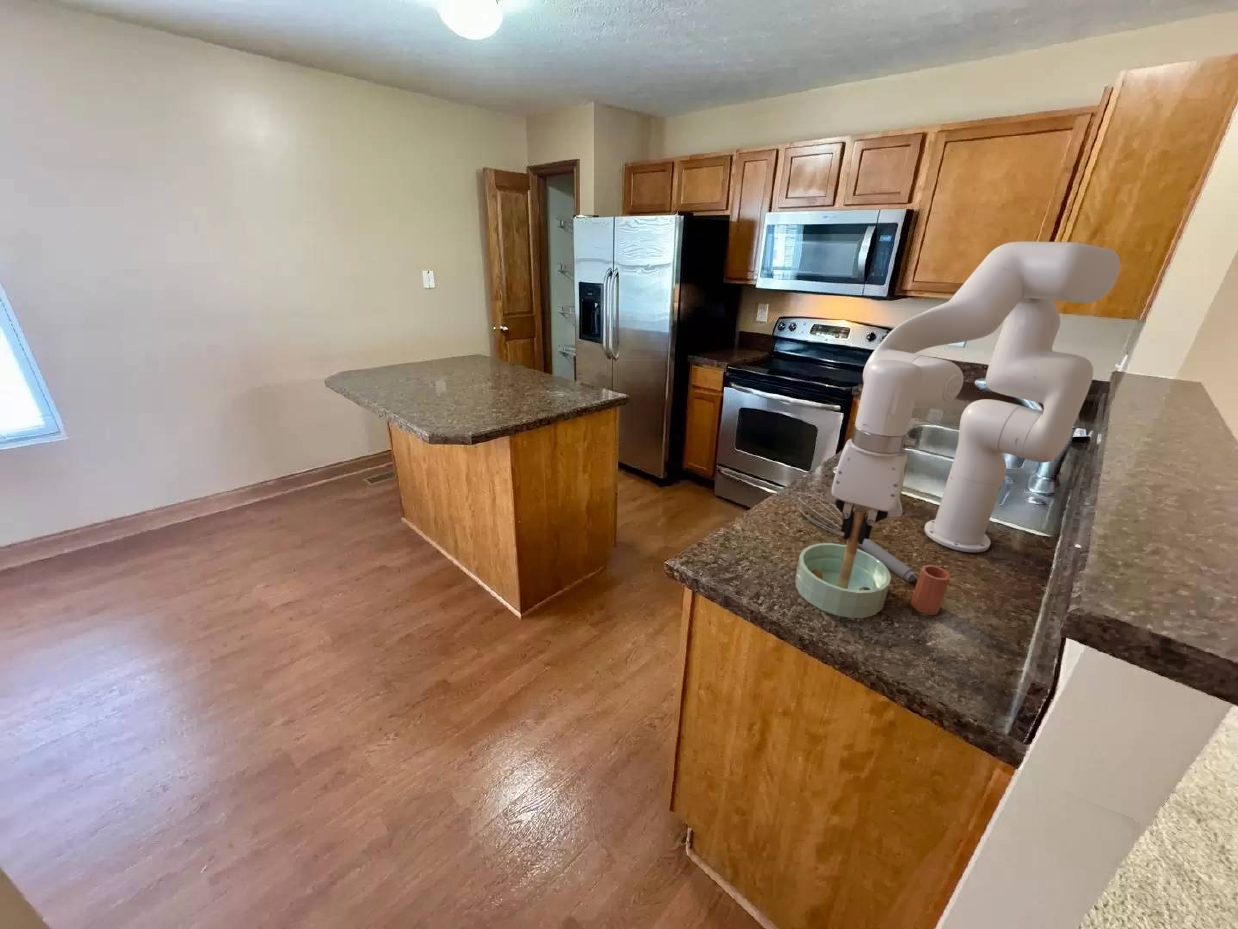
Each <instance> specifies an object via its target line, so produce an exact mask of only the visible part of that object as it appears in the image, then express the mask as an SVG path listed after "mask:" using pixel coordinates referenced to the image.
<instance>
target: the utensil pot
mask: <svg viewBox="0 0 1238 929" xmlns="http://www.w3.org/2000/svg"><path fill="white" fill-rule="evenodd" d="M917 578H918V579H917V581H916V584H915V587H914V589H913V592H912V593H913V594H912V596H911V600H910V605H911V606H912V608H913V609H915V610H916V611H917V612H920V613H922V614H925V615H930V616H934V615H935V616H936V615H937V614H939V612H940V611H941V610H940V609H941V607H942V605H943V601H944V598H945V595H946V593H947V591H948V587H949V583H950V581H951V578H952V576H951V573H950V572H948V571H947V569H944V568H942V567H941V566H938V565H934V564H924V565H922V567H921V568H920V571H919V575H918V576H917Z"/></svg>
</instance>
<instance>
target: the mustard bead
mask: <svg viewBox="0 0 1238 929" xmlns="http://www.w3.org/2000/svg"><path fill="white" fill-rule="evenodd" d="M811 572H812V573H813V574H814V575H815V576H816V577H818V578H820V579H823V573H822V572H821V571H820V570H818V569H814V570H812V571H811Z"/></svg>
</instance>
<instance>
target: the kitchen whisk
mask: <svg viewBox="0 0 1238 929" xmlns="http://www.w3.org/2000/svg"><path fill="white" fill-rule="evenodd" d="M809 493H810V491H808V492H804V493H802V494H801V495H802V496H798V500H797V503H796V507H797V508H798V510H799V511H800V512H801V513H802V514H803V516H805V519H808V521H811V522H812V523H813V524H815V525H816V526H818V527H820V528H822V529H824V530H827V531H829V532H831V533H833V534H836V535H839V536H843V537H844V532H841V530H839V529H841V526H840V525H837V524H836V523H834V522H833V521H832V520H830V519H828V518H827V517H825V516H824V515H822V514H821V513H819V512H817V511H816V510H814V508H812V507H811V506H809V505H808V504H806V503H805V500H806V501H808V502H811V503H812V504H814V505H816V506H817V507H819V508H820V509H822V510H823V511H825V512H826V513H827V514H828V515H830V516H831V517H832V518H834V519H835V520H836V521H838V522H839V523H840V524H841V525H842V524H843V522H842V521H841V519H840V517H838V515H836V514H835V513H834V512H833V511H832V510H831V509H830V508H829V507H827V505H825V504H824V503H822V502H821V500H819V499H822V500H824V501H825V502H827V503H828V504H829V505H831V506H832V507H833V508H834V509H835V510H836V511H837V512H838V513H839V514H840V515H841V516H842V513H841V512H840V510H839V509H838V507H837V506H836V505H835V504H834V503H832V502H830V501H829V500H827V499H826V498H825V495H822V494H821V493H820V492H817V491H814V493H815V494H817V495H815V494H809ZM818 495H819V496H818ZM806 497H812V498H814V499H815V500H816V501H818V502H819V503H820V504H822V506H824V508H826V509H827V510H828V511H829V512H828V511H827V510H826V509H824V508H823V507H821V506H820V505H818V504H817V503H815V502H813V501H812V500H810V499H808V498H806ZM817 498H819V499H817ZM799 501H800V502H799ZM801 504H803V505H804V506H805V508H806V509H807V511H808V512H810V514H812V515H813V516H814V517H815V518H816V519H819V520H820V521H821V522H823V523H824V524H825V525H824V524H822V523H821V522H818V521H816V520H814V519H813V518H811V517H809V516H808V515H807V514H806V513H805V512H804V511H803V510H802V506H801ZM810 509H811V510H810ZM812 511H813V512H815V513H816V514H818V515H819V516H821V517H822V518H824V519H825V520H827V521H828V522H830V523H831V524H833V525H835V526H836V527H838V528H839V529H837V528H835V529H836V530H835V529H833V526H832V525H830V524H828V523H826V522H825V521H823V520H822V519H821V518H819V517H818V516H816V515H815V514H814V513H813V512H812ZM830 512H831V513H832V514H831V513H830ZM833 515H834V516H833ZM826 525H827V526H826ZM828 526H829V527H828ZM825 527H826V528H825ZM830 527H831V528H830ZM858 548H859V549H860V550H862V551H864V552H866V553H868V554H870V555H872V556H874V557H875V558H876V559H878V560H879V561H881V562H882V563H883V564H884V565H885V566H886V568H887V569H888V570H889V572H890V571H891V572H892V573H893V574H894V575H896V577H899V579H901V580H903V581H905V582H907V583H910V582H913V581H915V580H916V579H917V580H918V574H917V573H916V572H915V571H914V569H913V568H912V567H910V566H908V565H907V564H905V563H904V562H903V561H901V560H900V559H898V558H897V557H896V556H894V555H893V554H892V553H890V552H889V551H887V550H886V549H884V548H883V547H881V546H880V545H879V544H878V543H877V542H874V541H873V540H871V539H870V538H869V540H868V539H864V541H863V544H862V545H861V544H858Z"/></svg>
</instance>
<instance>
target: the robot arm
mask: <svg viewBox="0 0 1238 929" xmlns="http://www.w3.org/2000/svg"><path fill="white" fill-rule="evenodd" d="M1120 271H1121V258H1120V257H1119V255H1118V253H1117V252H1116V251H1115V250H1113V249H1111V248H1107V247H1103V246H1096V245H1093V244H1088V243H1081V242H1073V241H1011V242H1006V243H1003V244H1001V245H999V246H997V247H995V248H994V249H993V250H991V251H990V252H989V253H988V254H987V255H986V256H985V258H984V259H983V260H982V261H981V263H979V265H978V266H977V267H976V268H975V269H974V271H973V272H972V273H971V274H970V275H969V277H968V278H967V279H966V280H965V282H964V283H963V284H962V285H961V286H960V287H959V289H958V290H957V291H956V292H955V293H954V294H953V296H952V297H951V298H950V299H949V300H948V301H947V302H944V303H941V304H939V305H937V306H934V307H932V308H929V309H927V310H924V311H923V312H921V313H919V314H917V315H914V316H913V317H911V318H908V319H906V320H904V321H902V322H901V323H899V324H898V325H897V326H895V327H894V328H893V329H892V330H891V331H889V332H888V334H887V335H886V336H885V337H884V338H883V339H882V340H881V342H880V343H879V344H878V345H877V347H876V348H875V349H874V350H873V351H872V352H871V354H870V356H869V357H868V359H867V360H866V363H865V365H864V368H863V372H862V382H863V386H862V391H861V394H860V400H859V403H858V407H857V412H856V416H855V422H854V423H855V424H854V428H853V431H852V436H851V438H849V439H847V441H846V443H845V445H844V447H843V448H842V452H841V454H840V457H839V460H838V465H837V467H836V470H835V474H834V478H833V481H832V484H831V485H830V487H829V488H828V489H827V491H826V492H825V494H824V497H825V498H824V499H825V500H826V501H828V500H829V501H830V502H831V503H832V504H833V505H835V507H836V508H837V509H838V510H839V511H840V512H841V513H842V515H841V516H842V517H843V519H842V524H841V527H840V531H841V532H840V533H842V532H843V534H844V536H843V537H842V540H845V541H848V538H849V534H850V530H851V525H852V521H853V516H854V512H855V511H854V506H855V505H857V506H861V507H866V508H868V509H869V510H868V515H867V514H866V516H865V520H864V522H863V524H862V528H861V532H860V536H859V540H858V543H859V544H861V545H862V544H863V541H864V539H868V540H869V539H870V537H871V533H872V529H873V526H874V525H875V524H876V523H878V522H881V521H883V520H885V519H894V518H901V517H902V516H903V512H904V511H903V507H902V501H901V495H902V492H903V488H904V482H905V478H906V473H907V467H908V451H907V450H906V448H912V449H914V448H915V446H916V442H917V439H916V438H912V437H909V436H910V435H908V432H909V428H910V425H911V420H912V416H913V412H914V409H916V408H921V409H922V408H923V409H934V408H940V407H943V406H945V405H947V404H949V403H950V402H952V401H953V400H954V399H956V398H957V396H958V395H959V394H960V392H961V390H962V388H963V386H964V374H963V371H962V369H961V368H960V367H959V366H958V365H957V364H956V363H954V362H952V361H950V360H947V359H943V358H937V357H933V356H927V355H923V354H920V353H919V354H918V352H921V351H923V350H926V349H930V348H934V347H939V346H944V345H951V344H958V343H964V342H969V341H974V340H979V339H983V338H986V337H988V336H990V335H992V334H993V333H994V332H995V331H996V330H998V328H999V327H1000V326H1001V325H1002V326H1001V331H1000V333H999V336H998V338H997V341H996V345H995V347H994V350H993V353H992V356H991V359H990V361H989V364H988V367H987V371H986V374H985V379H984V380H985V386H986V388H988V389H989V390H990V391H992V392H994V393H997V394H1000V395H1004V396H1007V397H1012V398H1017V399H1021V400H1026V401H1029V402H1034V403H1039V404H1041V405H1042V406H1043V410H1041V409H1037V408H1032V407H1027V406H1024V405H1020V404H1016V403H1012V402H1007V401H1003V400H998V399H990V398H989V399H988V398H986V399H985V398H984V399H978V400H974V401H972V402H970V403H969V404H967V406H966V407H965V408H964V410H963V412H962V414H961V417H960V421H959V426H958V428H959V429H958V439H957V446H956V450H955V454H954V457H953V461H952V464H951V468H950V471H949V475H948V477H947V480H946V483H945V487H944V489H943V493H942V496H941V499H940V502H939V505H938V506H939V507H938V509H937V513H936V515H935V519H932V520H929V521H927V522H926V523H925V525H924V527H923V530H924V533H925V534H926V536H927V537H929V539H930V540H932V541H933V542H935V543H937V544H939V545H941V546H943V547H945V548H948V549H951V550H954V551H958V552H963V553H974V554H975V553H983V552H985V551H987V550H988V549H989V548H990V546H991V539H990V538H989V536H988V535H987V534H986V532H987V528H988V525H989V523H990V520H991V518H992V515H993V512H994V510H995V506H996V503H997V501H998V498H999V495H1000V492H1001V490H1002V487H1003V484H1004V481H1005V479H1006V476H1007V464H1006V459H1005V456H1004V454H1007V455H1010V456H1014V457H1017V458H1020V459H1025V460H1028V461H1031V462H1035V463H1049V462H1052V461H1054V460H1055V459H1056V458H1057V457H1058V456H1059V455H1060V454H1061V453H1062V451H1063V450H1064V447H1065V446H1066V444H1067V442H1068V439H1069V438H1070V435H1071V433H1072V430H1073V428H1074V425H1075V423H1076V421H1077V419H1078V416H1079V415H1080V411H1081V410H1082V407H1083V405H1084V402H1085V400H1086V398H1087V396H1088V393H1089V390H1090V388H1091V385H1092V383H1093V382H1092V381H1093V376H1094V367H1093V364H1092V362H1091V361H1090V360H1089V359H1088V358H1087V357H1084V356H1081V355H1078V354H1072V353H1067V352H1060V351H1054V350H1053V347H1054V346H1053V345H1054V342H1055V340H1056V337H1057V334H1058V331H1059V330H1060V327H1061V317H1060V313H1059V310H1058V307H1057V306H1056V303H1054V301H1056V302H1065V303H1066V302H1067V303H1075V304H1076V303H1077V304H1078V303H1079V304H1093V303H1094V302H1097V301H1100V300H1101V299H1102V298H1104V297H1105V296H1106V295H1107V294H1109V293H1110V291H1112V289H1113V287H1114V286H1115V284H1116V282H1117V280H1118V279H1119V275H1120ZM1003 453H1004V454H1003ZM829 501H828V502H829ZM830 502H829V503H830Z"/></svg>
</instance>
